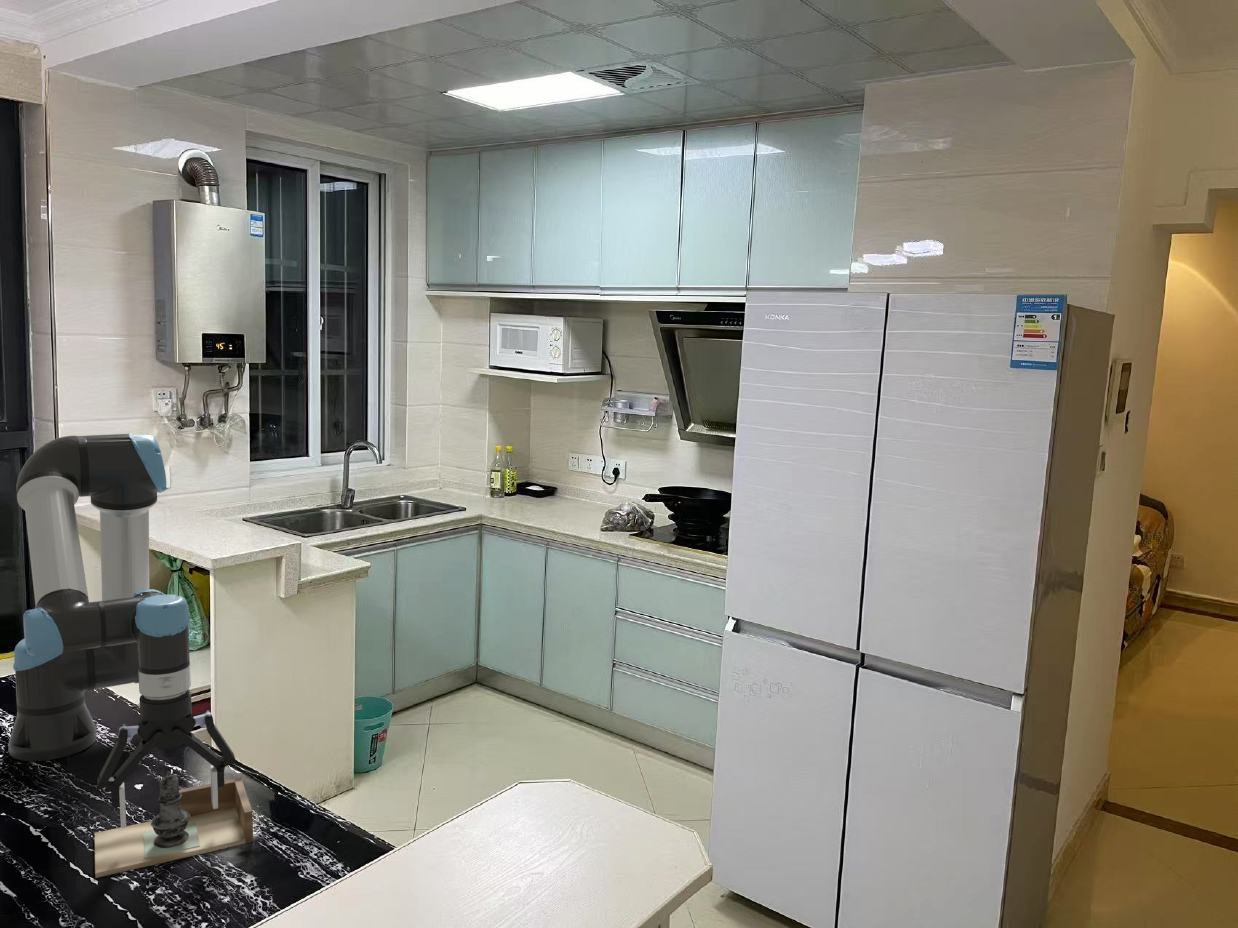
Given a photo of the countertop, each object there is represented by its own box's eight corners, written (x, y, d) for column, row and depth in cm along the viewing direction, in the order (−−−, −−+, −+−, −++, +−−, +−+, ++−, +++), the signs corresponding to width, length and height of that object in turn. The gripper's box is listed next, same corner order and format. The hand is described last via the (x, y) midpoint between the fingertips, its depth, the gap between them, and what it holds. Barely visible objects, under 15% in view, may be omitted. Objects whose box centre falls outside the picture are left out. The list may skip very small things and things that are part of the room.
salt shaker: (198, 832, 155) (196, 765, 154) (175, 851, 150) (172, 781, 148) (167, 827, 156) (165, 760, 155) (143, 846, 151) (140, 777, 149)
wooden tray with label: (94, 837, 154) (93, 806, 154) (241, 806, 166) (241, 777, 165) (95, 877, 143) (93, 845, 143) (253, 841, 155) (252, 811, 154)
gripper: (75, 713, 140) (82, 843, 143) (251, 687, 152) (253, 807, 155) (76, 696, 146) (82, 820, 149) (244, 672, 159) (247, 787, 162)
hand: (170, 814), depth 152 cm, fingers open, 13 cm apart
